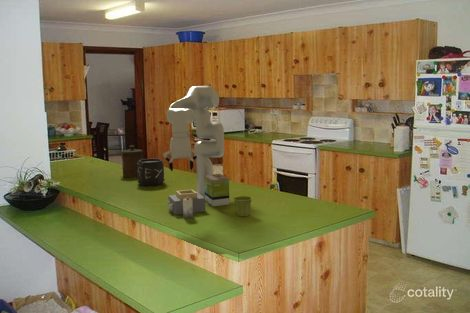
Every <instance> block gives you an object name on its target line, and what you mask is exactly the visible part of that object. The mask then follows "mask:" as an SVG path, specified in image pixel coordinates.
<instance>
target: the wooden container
mask: <svg viewBox="0 0 470 313" xmlns="http://www.w3.org/2000/svg"><path fill="white" fill-rule="evenodd" d="M121 159H122V161H121V164H122V167H121V168H122V177H123V178H138V175H137V167H138V166H137V163H138V161H139V160H143V159H144V156H143V149H138V148H137V149H136V148H135V145H133V144H131V145H129V149H123V150H121Z"/></svg>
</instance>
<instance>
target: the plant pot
mask: <svg viewBox="0 0 470 313" xmlns="http://www.w3.org/2000/svg"><path fill="white" fill-rule="evenodd" d="M252 200H253V197H252V196H248V195H243V196H242V195H241V196H235V197H233V201H234V203H235V209H236V210H235V211H236V215H237V216H238V217H248V216H250V214H251V213H250V212H251V205H252Z"/></svg>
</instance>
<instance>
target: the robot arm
mask: <svg viewBox="0 0 470 313" xmlns="http://www.w3.org/2000/svg"><path fill="white" fill-rule="evenodd" d="M219 103H220V97H219V94H218V92H217V91H216V90H215V88H213V87H212V86H211V85H196V86H191V87H189V88H188V91H186V93H185V95H184V97H182V98H181V99H178V100H176V101H174V102H173V103H171V104H170V106H169V108H168V110H167V111H166V119H167V122H168V123H169V124H171V133H172V137H171V138H170V142H169V150H168V151H166V152H164V153H162V156H163V157H164V159H165V160H166V161H167V162H168V169H169V170H170V171H171V172H173V171H174V166H173V165H174V163H173V161H174V160H178V159H189V170H191V171H192V170H193V168H194V161H195V163H196V190H197V191H195V192H198V193H199V194H200V195H202V196H203V197H205V191H204V175H212V174H214V169H213V168H214V166H213V163H212V161H211V159H210V158H223V156H224V154H225V131H224V130H225V129H224V126H223V124H222V123H221V122H218V121H213V122H212V121H211V112H210V111H209V108H210V109H211V108H212V109H214V108H217V107H218V106H219ZM194 122H195V132H196V136H197V138H199V139H202V140H200V141H196V142H195V143H194V147H193V148H194V149H193V148H192V146H191V140H190V137H189V136H192V133H191V132H189V129H188V128H189V127H188V125H189V124H192V123H194ZM203 139H206V140H203ZM209 139H210V140H209ZM211 139H212V140H211ZM192 153H193V154H194V155H193V156H192ZM168 155H169V156H170V158H169V157H168Z"/></svg>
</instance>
